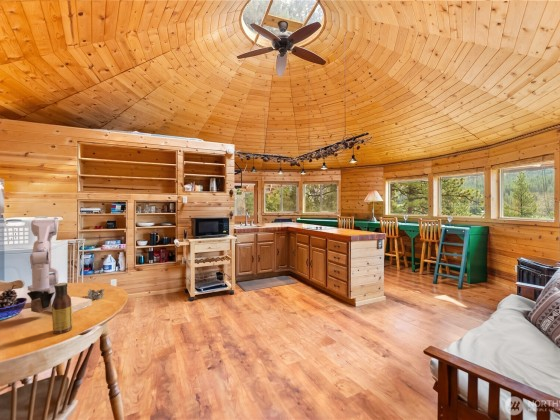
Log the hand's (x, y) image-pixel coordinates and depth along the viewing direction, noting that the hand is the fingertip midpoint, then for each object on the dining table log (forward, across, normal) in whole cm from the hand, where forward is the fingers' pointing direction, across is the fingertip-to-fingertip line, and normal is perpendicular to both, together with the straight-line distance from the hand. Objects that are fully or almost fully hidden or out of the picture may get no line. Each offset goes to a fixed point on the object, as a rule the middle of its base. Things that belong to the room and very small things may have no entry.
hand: (41, 306), depth 120 cm
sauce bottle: (+5, +23, -7) cm, 25 cm away
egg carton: (+6, -1, +27) cm, 27 cm away
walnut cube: (+1, 0, 0) cm, 1 cm away
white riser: (+5, +1, +11) cm, 12 cm away
